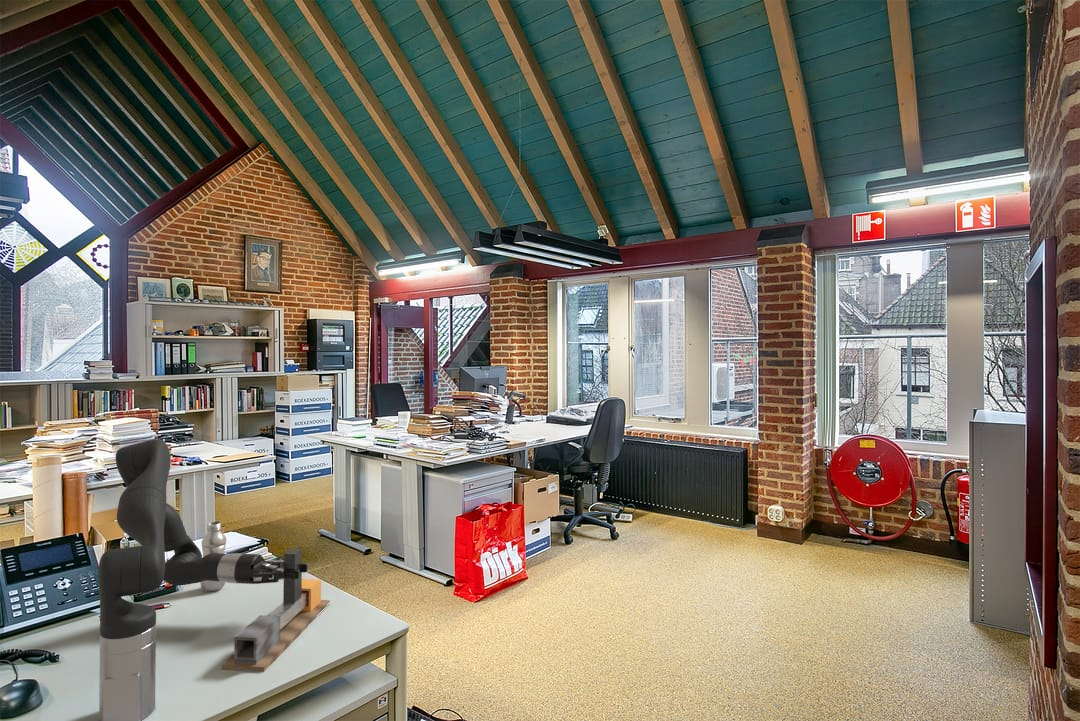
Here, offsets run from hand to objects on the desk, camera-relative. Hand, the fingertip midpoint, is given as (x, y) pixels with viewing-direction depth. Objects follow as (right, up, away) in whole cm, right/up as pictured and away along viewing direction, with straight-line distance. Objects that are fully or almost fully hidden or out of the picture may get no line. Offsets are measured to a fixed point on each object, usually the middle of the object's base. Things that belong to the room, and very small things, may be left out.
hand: (302, 571), depth 158 cm
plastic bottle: (-35, -13, +21) cm, 43 cm away
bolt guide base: (-3, -14, -5) cm, 15 cm away
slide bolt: (-3, -11, -4) cm, 12 cm away
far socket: (-2, -13, +9) cm, 16 cm away
